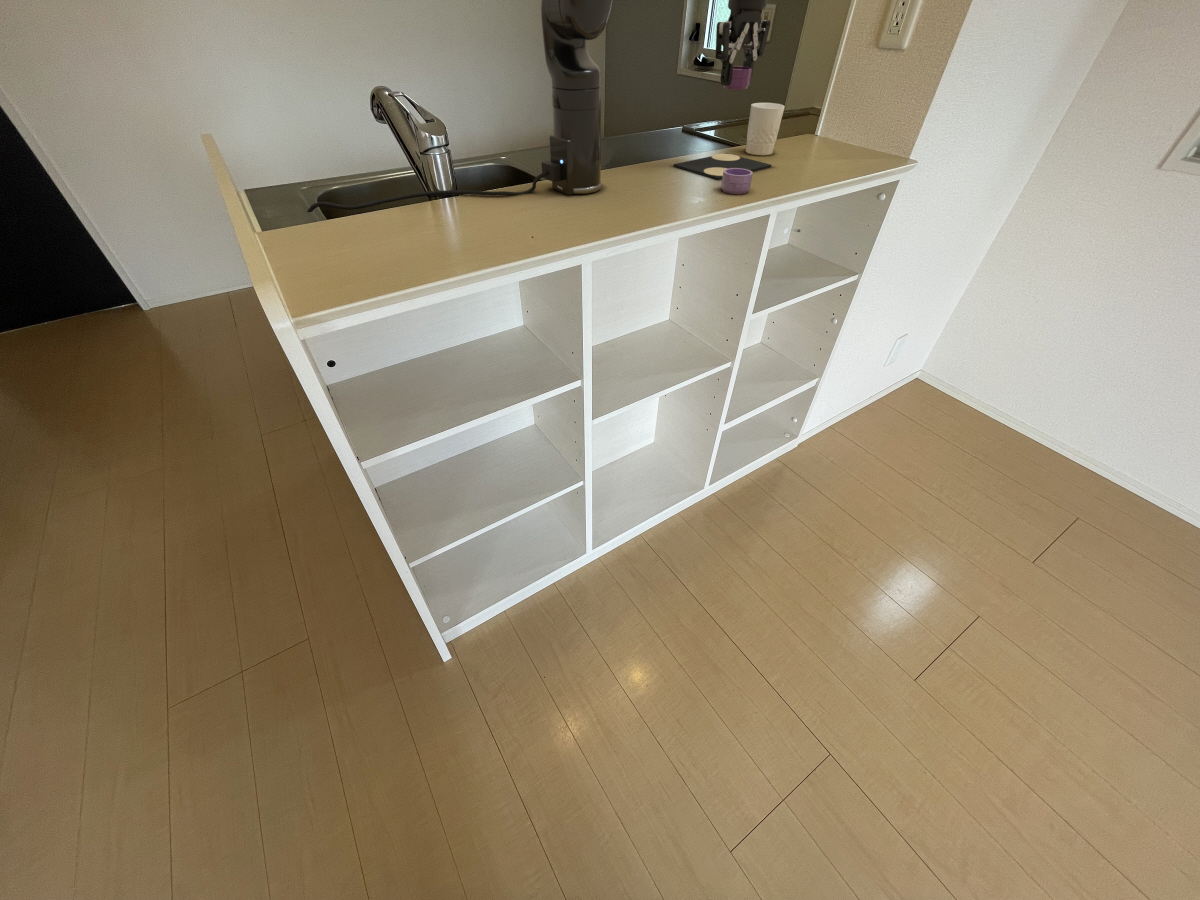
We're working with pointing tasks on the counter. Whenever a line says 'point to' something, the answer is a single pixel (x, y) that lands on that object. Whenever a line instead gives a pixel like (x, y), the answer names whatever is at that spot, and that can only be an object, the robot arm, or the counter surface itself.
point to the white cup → (763, 127)
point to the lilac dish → (736, 180)
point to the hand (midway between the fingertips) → (735, 83)
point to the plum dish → (740, 78)
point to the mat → (720, 165)
